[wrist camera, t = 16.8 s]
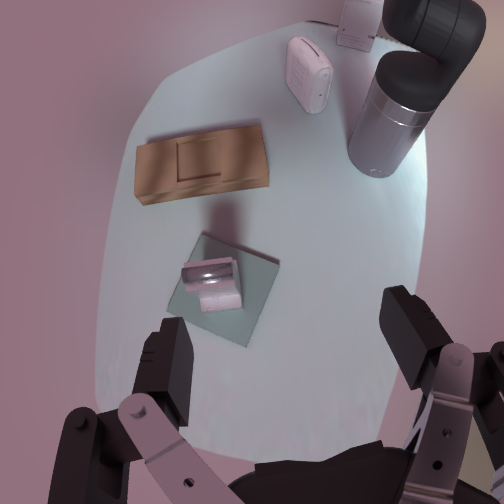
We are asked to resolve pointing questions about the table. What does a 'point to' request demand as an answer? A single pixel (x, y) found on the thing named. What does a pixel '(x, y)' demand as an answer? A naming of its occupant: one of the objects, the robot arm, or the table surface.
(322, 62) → the photo printer
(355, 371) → the table surface
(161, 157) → the body
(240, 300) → the lever cap
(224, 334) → the rubber mat
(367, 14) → the skincare box
